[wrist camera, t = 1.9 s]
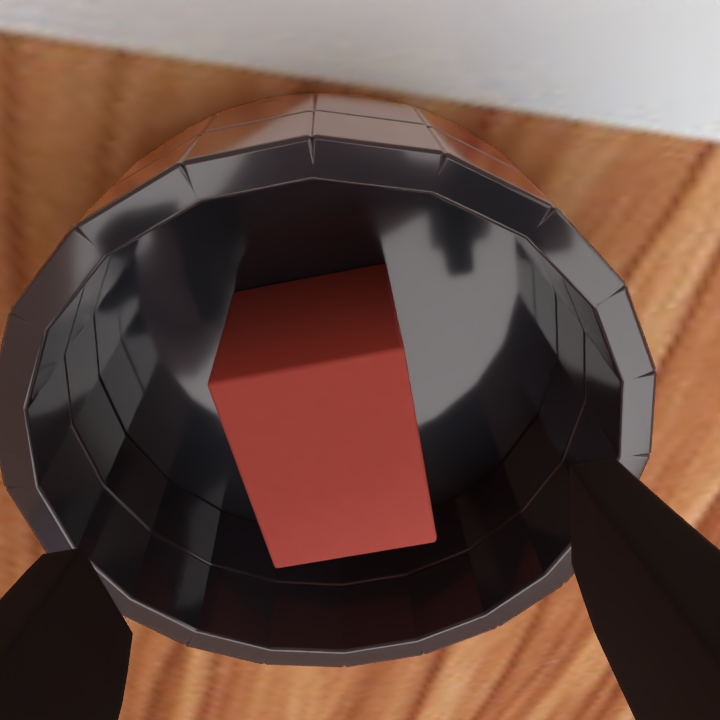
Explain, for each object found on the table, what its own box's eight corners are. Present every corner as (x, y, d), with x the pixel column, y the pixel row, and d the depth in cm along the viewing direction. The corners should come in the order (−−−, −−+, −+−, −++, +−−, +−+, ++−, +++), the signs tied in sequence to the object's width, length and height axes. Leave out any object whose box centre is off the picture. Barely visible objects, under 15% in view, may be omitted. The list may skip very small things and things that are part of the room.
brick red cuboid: (415, 431, 15) (438, 543, 12) (283, 455, 15) (274, 570, 12) (386, 261, 13) (404, 347, 10) (232, 291, 13) (205, 383, 10)
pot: (577, 493, 17) (641, 622, 14) (173, 561, 18) (138, 701, 14) (574, 33, 11) (680, 59, 8) (-23, 157, 12) (-161, 229, 9)
